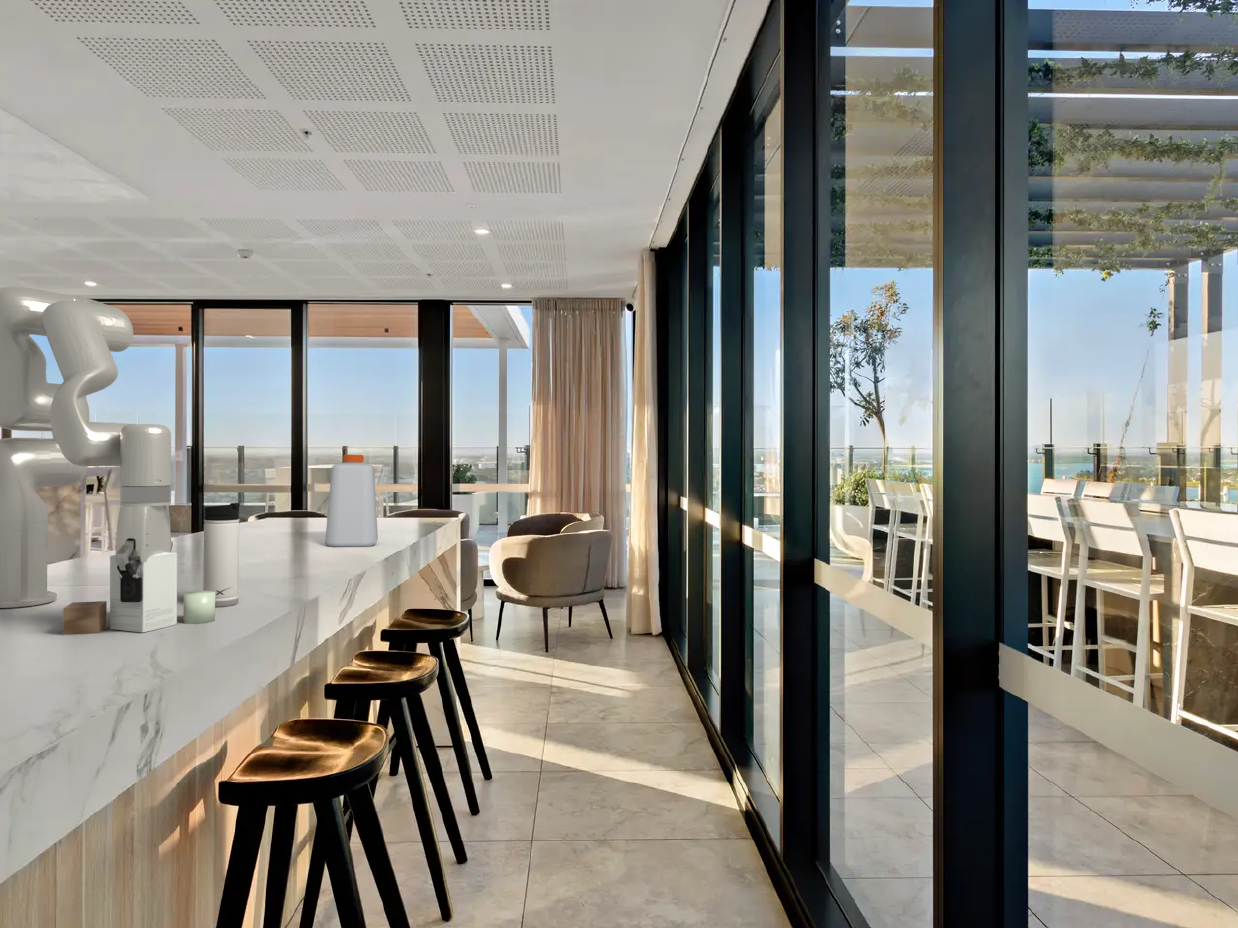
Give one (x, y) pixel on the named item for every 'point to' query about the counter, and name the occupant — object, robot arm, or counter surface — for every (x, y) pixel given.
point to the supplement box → (146, 596)
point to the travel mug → (221, 553)
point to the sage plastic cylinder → (199, 607)
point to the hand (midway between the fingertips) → (145, 596)
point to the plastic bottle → (352, 504)
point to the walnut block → (84, 617)
